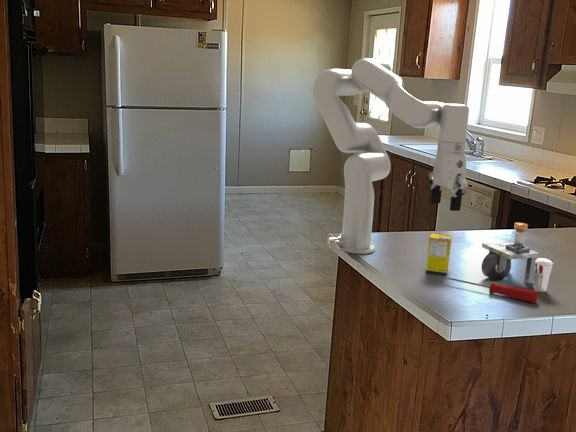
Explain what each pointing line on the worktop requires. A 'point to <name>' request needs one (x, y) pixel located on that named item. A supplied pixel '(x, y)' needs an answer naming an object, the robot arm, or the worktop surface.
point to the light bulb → (519, 234)
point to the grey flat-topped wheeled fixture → (506, 260)
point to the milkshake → (542, 274)
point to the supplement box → (438, 254)
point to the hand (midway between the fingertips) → (444, 206)
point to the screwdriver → (508, 291)
